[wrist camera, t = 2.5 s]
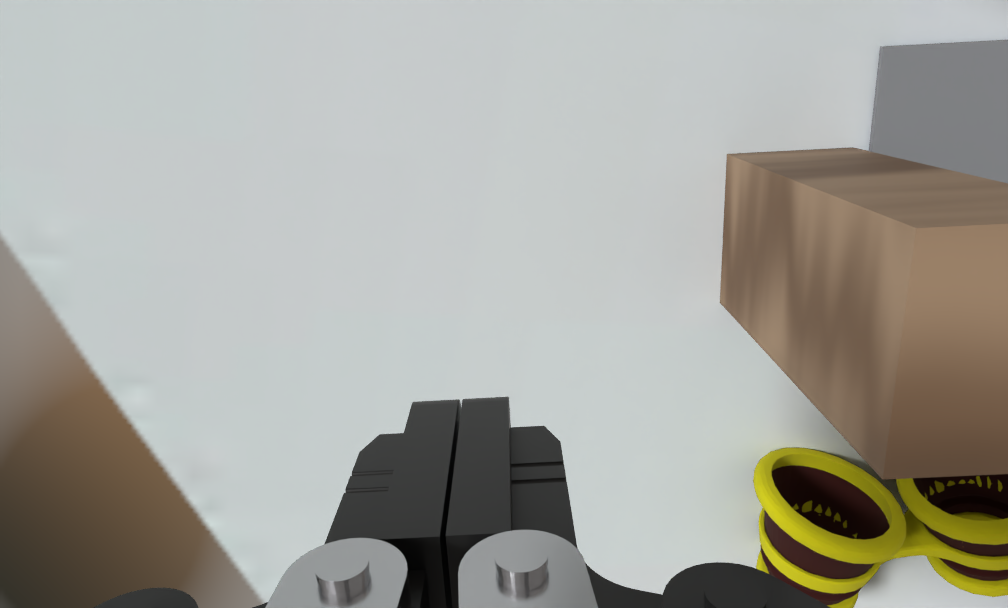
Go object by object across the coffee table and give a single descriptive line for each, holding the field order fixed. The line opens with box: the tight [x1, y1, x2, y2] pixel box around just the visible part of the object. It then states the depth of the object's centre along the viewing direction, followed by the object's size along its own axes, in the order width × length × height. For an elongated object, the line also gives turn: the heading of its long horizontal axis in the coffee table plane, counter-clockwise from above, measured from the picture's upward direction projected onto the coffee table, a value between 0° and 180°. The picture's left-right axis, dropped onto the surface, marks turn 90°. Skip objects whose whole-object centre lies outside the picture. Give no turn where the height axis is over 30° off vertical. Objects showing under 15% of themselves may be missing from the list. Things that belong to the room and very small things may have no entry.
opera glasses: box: [753, 448, 1008, 608], centre depth 25 cm, size 10×5×5 cm, turn 100°
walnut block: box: [720, 148, 1008, 480], centre depth 18 cm, size 5×4×11 cm
